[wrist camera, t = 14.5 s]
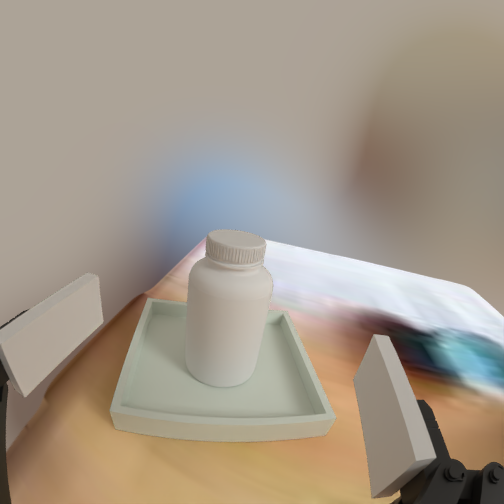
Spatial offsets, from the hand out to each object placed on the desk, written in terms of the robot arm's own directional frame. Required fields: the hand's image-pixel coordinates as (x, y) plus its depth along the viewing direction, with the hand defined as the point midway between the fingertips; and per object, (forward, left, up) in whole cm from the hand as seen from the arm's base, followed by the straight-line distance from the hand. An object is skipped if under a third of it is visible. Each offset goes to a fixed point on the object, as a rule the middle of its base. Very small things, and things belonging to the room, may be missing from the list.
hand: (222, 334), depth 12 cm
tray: (-2, -14, -16) cm, 21 cm away
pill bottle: (-2, -14, -15) cm, 20 cm away
